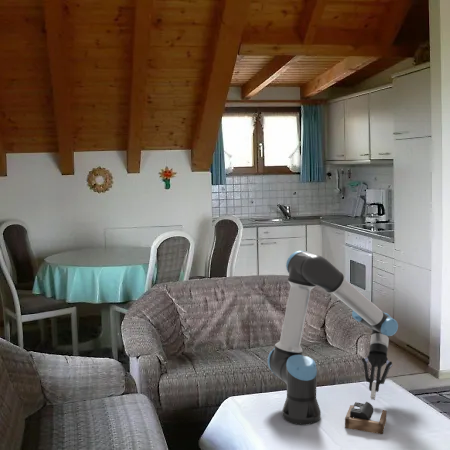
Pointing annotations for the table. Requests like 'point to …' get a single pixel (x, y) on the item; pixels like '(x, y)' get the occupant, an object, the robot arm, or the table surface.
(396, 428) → the table surface
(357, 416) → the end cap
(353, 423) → the corral
